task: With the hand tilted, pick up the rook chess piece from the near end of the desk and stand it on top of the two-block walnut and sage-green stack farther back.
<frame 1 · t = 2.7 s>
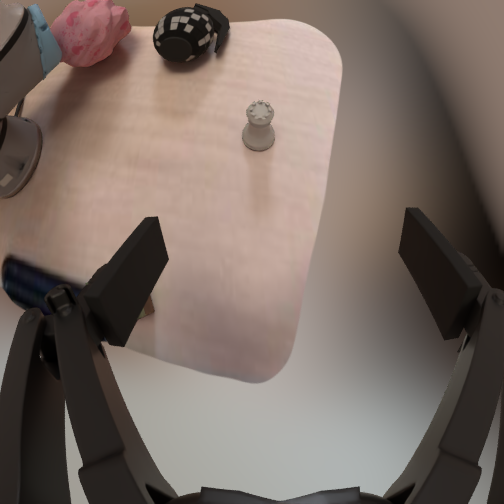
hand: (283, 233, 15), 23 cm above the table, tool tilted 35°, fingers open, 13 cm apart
grenade: (180, 53, 33), point 5 cm above the table
rook chess piece: (258, 138, 38), on the table
decorative rock: (50, 28, 27), point 12 cm above the table
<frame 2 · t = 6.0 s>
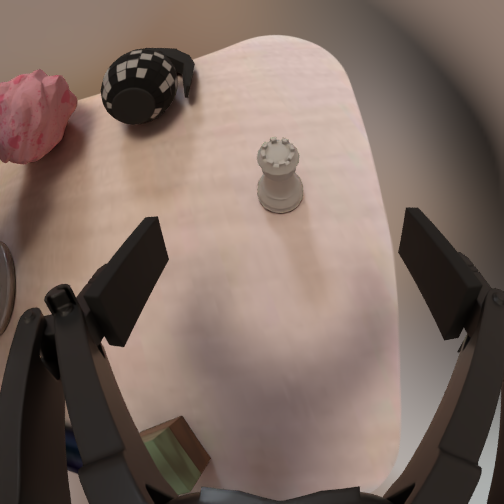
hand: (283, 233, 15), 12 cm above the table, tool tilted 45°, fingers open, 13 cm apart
grenade: (141, 109, 27), point 5 cm above the table
rook chess piece: (280, 194, 28), on the table
block stack: (175, 445, 24), on the table
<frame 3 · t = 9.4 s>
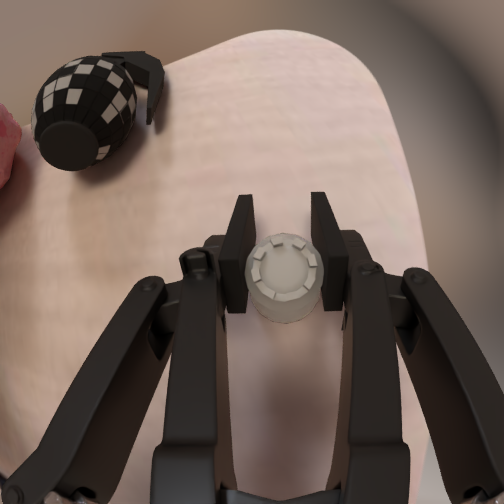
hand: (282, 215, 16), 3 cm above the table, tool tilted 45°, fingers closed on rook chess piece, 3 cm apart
grenade: (77, 151, 17), point 5 cm above the table
rook chess piece: (285, 289, 19), on the table, touching gripper
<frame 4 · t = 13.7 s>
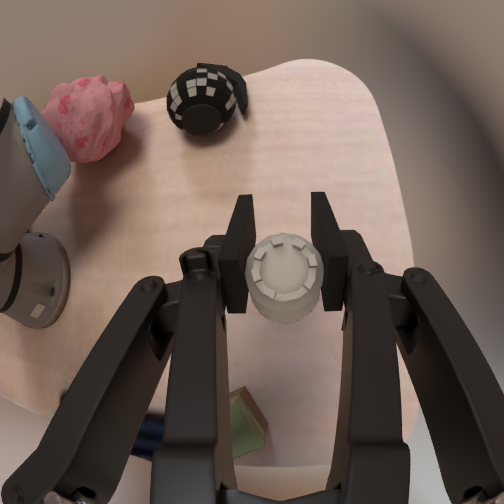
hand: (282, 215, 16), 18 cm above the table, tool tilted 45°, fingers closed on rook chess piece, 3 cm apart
grenade: (208, 123, 33), point 5 cm above the table
rook chess piece: (285, 289, 19), point 14 cm above the table, touching gripper
block stack: (236, 414, 30), on the table
decorative rock: (39, 122, 30), point 12 cm above the table
when the fingers open (10 cm above the table, at t = 18.0 s): rook chess piece stays where it is, resting on block stack.
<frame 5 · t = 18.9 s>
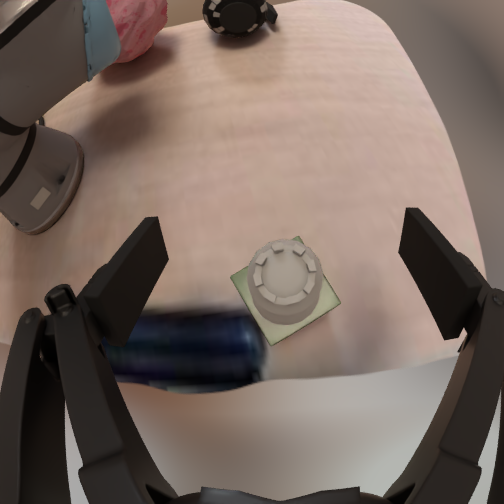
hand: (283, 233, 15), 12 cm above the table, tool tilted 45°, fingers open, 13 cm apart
grenade: (245, 19, 29), point 5 cm above the table
rook chess piece: (285, 292, 19), point 7 cm above the table, touching block stack
block stack: (285, 297, 26), on the table
decorative rock: (73, 26, 26), point 12 cm above the table
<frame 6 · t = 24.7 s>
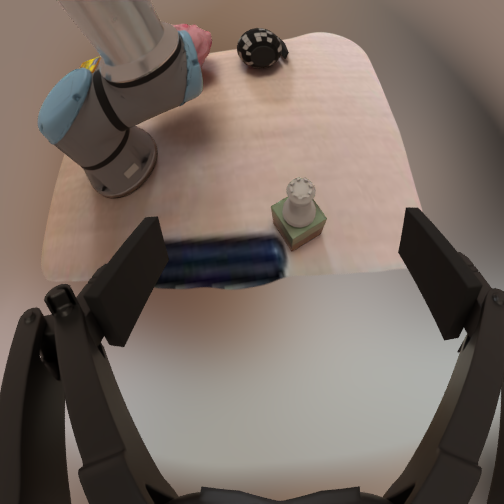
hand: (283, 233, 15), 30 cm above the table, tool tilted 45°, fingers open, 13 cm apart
grenade: (267, 58, 48), point 5 cm above the table
supplement box: (106, 93, 60), on the table
rook chess piece: (298, 213, 39), point 7 cm above the table, touching block stack
block stack: (297, 228, 45), on the table
decorative rock: (142, 50, 45), point 12 cm above the table
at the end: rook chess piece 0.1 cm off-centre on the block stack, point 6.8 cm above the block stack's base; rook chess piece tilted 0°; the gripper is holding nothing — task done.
